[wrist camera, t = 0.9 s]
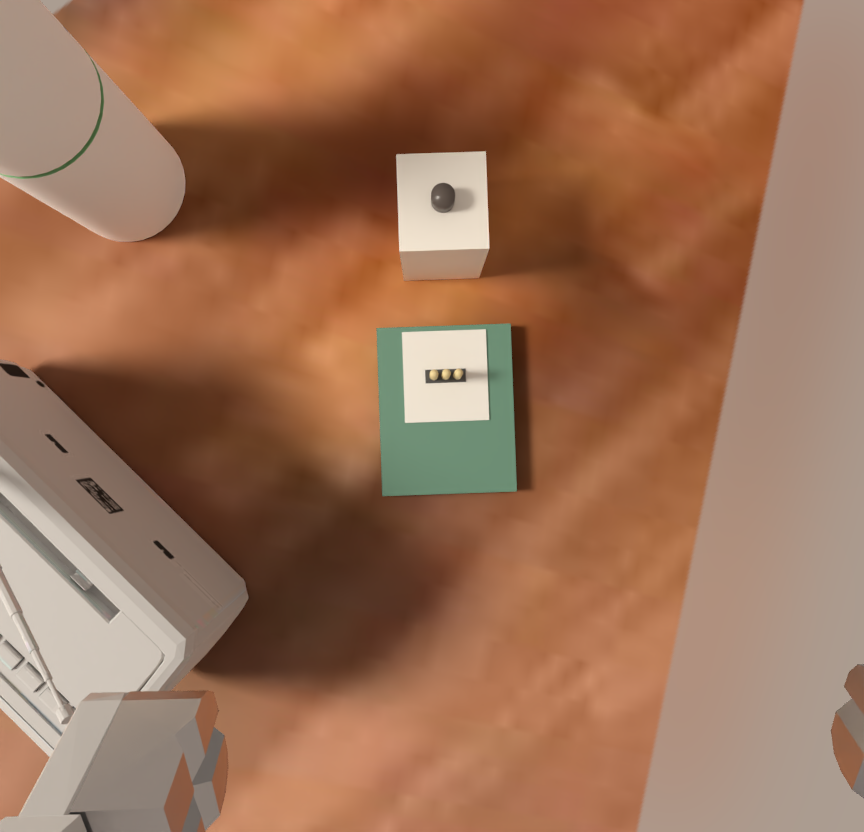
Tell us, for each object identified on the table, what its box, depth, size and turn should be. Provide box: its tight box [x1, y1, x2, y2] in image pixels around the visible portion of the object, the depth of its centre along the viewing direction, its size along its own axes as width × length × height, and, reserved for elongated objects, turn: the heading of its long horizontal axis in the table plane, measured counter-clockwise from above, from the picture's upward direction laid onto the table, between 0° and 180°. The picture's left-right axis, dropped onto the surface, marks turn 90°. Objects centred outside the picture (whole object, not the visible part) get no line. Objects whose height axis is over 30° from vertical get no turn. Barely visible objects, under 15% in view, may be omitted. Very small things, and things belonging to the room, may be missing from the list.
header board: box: [377, 324, 517, 496], centre depth 41 cm, size 10×8×3 cm
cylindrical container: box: [0, 0, 186, 242], centre depth 30 cm, size 7×7×25 cm
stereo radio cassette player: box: [0, 360, 249, 757], centre depth 32 cm, size 21×8×20 cm, turn 46°
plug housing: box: [396, 151, 489, 281], centre depth 38 cm, size 5×5×8 cm
